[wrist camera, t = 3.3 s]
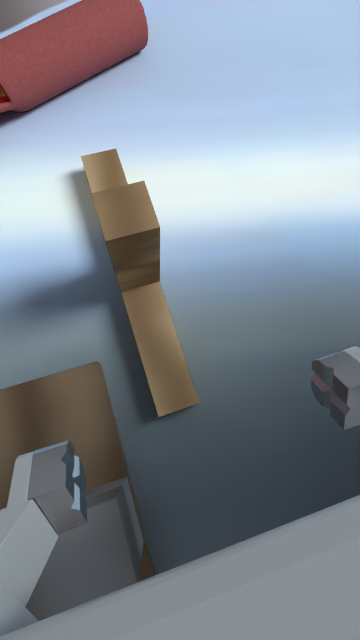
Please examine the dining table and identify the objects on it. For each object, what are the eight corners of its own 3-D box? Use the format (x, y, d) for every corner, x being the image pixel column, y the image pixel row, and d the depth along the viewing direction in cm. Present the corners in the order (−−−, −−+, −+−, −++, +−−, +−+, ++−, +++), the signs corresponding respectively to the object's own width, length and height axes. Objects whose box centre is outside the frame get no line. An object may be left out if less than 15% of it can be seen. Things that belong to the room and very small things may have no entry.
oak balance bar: (118, 165, 31) (100, 53, 21) (196, 403, 26) (218, 399, 16) (85, 172, 31) (52, 62, 21) (158, 416, 26) (158, 419, 16)
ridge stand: (100, 364, 26) (78, 345, 19) (180, 670, 21) (191, 802, 14) (-66, 413, 24) (-161, 414, 17) (-18, 756, 20) (-120, 954, 13)
